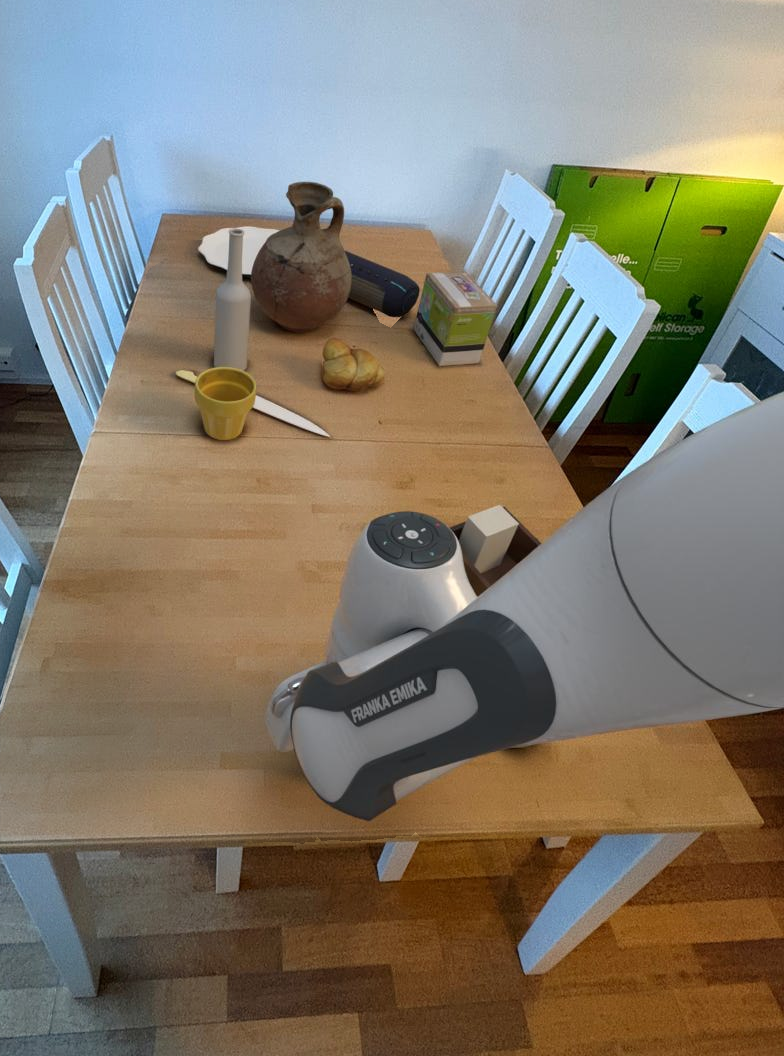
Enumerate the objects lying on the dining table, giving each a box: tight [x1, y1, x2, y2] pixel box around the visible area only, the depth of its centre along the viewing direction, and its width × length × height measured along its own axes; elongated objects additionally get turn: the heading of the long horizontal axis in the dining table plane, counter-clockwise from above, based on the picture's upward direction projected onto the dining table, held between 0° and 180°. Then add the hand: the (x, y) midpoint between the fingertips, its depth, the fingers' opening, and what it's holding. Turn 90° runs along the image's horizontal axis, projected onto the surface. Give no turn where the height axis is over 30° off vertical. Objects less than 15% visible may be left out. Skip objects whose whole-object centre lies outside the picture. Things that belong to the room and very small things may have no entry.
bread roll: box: [321, 337, 386, 392], centre depth 128 cm, size 13×10×8 cm
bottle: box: [213, 227, 252, 371], centre depth 123 cm, size 7×7×28 cm
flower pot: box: [194, 366, 257, 441], centre depth 113 cm, size 10×10×10 cm
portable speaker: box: [344, 249, 421, 318], centre depth 155 cm, size 25×10×10 cm, turn 53°
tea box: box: [413, 271, 498, 367], centre depth 141 cm, size 15×10×15 cm, turn 15°
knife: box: [175, 369, 331, 438], centre depth 122 cm, size 1×33×5 cm
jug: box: [250, 181, 352, 333], centre depth 138 cm, size 22×22×30 cm
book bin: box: [448, 506, 542, 596], centre depth 92 cm, size 16×13×7 cm
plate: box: [197, 225, 280, 279], centre depth 170 cm, size 29×29×2 cm
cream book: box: [459, 504, 519, 573], centre depth 94 cm, size 4×6×9 cm, turn 119°
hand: (351, 719), depth 69 cm, fingers open, 8 cm apart
